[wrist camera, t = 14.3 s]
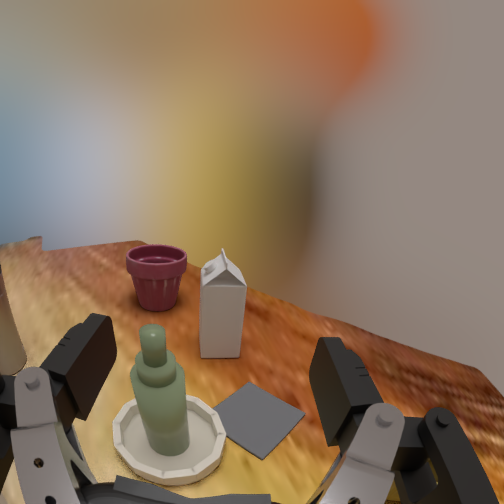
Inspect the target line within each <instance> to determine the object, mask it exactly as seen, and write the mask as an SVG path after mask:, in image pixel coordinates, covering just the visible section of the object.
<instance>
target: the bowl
mask: <svg viewBox="0 0 504 504" xmlns="http://www.w3.org/2000/svg"><path fill="white" fill-rule="evenodd" d="M186 404H187V416H188V426H189V436H190V444H189V447H188V449H187V450H186V451H185V452H184V453H182V454H180V455H177V456H164V455H161V454H158V453H157V452H155V451H154V450H153V449H152V448H151V447H150V445H149V442H148V439H147V436H146V433H145V430H144V427H143V423H142V420H141V416H140V413H139V409H138V406H137V402H136V398H135V399H133V400H131V401H129V402H127V403H125V404H124V406H123V407H122V409H121V410H120V412H119V413H118V415H117V416H116V418H115V419H114V421H113V422H112V423H113V439H114V446H115V448H116V450H117V452H118V454H119V455H120V456H121V457H122V459H123V460H124V461H125V463H126V464H127V465H128V467H129V468H130V469H131V470H132V471H134V473H135V474H137V475H139V476H141V477H142V478H144V479H146V480H148V481H151V482H153V483H157V484H161V485H167V486H182V485H187V484H191V483H195V482H197V481H199V480H202V479H203V478H205V477H207V476H208V475H209V474H210V473H212V472H213V471H214V470H215V468H216V467H217V466H218V465H219V464H220V461H221V458H222V455H223V450H224V446H225V443H226V432H225V430H224V427H223V425H222V422H221V420H220V418H219V415H218V413H217V412H216V411H215V410H213V409H212V408H211V407H209V406H208V405H207V404H205V403H204V402H203V401H201V400H200V399H199V398H197V397H193V396H189V395H186Z"/></svg>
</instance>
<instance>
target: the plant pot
mask: <svg viewBox="0 0 504 504" xmlns="http://www.w3.org/2000/svg"><path fill="white" fill-rule="evenodd" d="M126 266H127V271H128V272H129V274H131V276H132V280H133V283H134V287H135V290H136V293H137V296H138V300H139V303H140V305H141V306H142V307H143V308H145V309H147V310H150V311H165V310H168V309H170V308H172V307H173V306H174V305H175V302H176V298H177V294H178V290H179V286H180V281H181V277H182V274H183V273H184V272H185V271H186V266H187V254H186V252H185V251H183V250H182V249H180V248H177V247H173V246H168V245H143V246H138V247H135V248H132V249H131V250H129V251H128V252H127V254H126Z"/></svg>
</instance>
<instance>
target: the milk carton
mask: <svg viewBox="0 0 504 504" xmlns="http://www.w3.org/2000/svg"><path fill="white" fill-rule="evenodd" d="M246 291H247V285H246V283H245V281H244V278H243V276H242V274H241V271H240V270H239V269H238V268H237V267H236V266H235V265H234V264H233V263H232V262H231V261H230V260H228V259H227V258H226V256H225V253H224V250H223V248H222V252H221V254H220V255H219V256H218V257H216V258H215V259H214V260H210V261H208V262H207V263H206V264H205V265H204V267H203V268H202V269H201V283H200V319H199V341H200V353H201V358H239V355H240V345H241V336H242V327H243V318H244V309H245V300H246Z"/></svg>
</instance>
